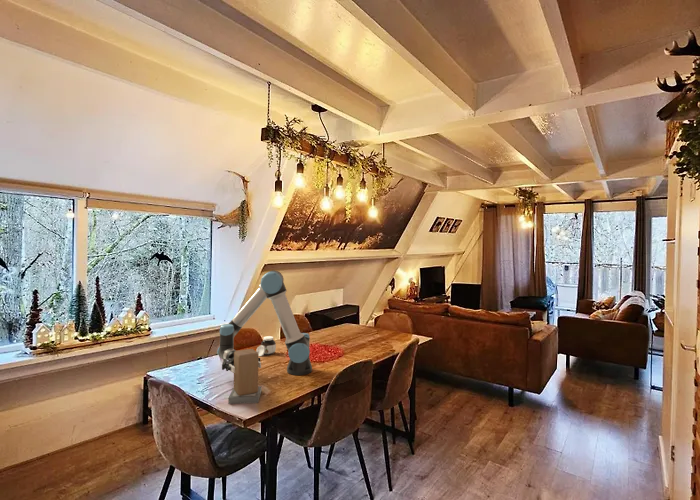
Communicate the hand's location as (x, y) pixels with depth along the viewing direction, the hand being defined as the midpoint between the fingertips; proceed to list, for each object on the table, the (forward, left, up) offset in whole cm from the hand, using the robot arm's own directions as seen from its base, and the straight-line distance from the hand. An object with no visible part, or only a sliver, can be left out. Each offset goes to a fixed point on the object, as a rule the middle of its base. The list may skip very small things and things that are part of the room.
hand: (247, 367), depth 189 cm
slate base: (+1, -2, -16) cm, 16 cm away
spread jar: (-1, -76, -16) cm, 77 cm away
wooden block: (+1, -2, -13) cm, 13 cm away
